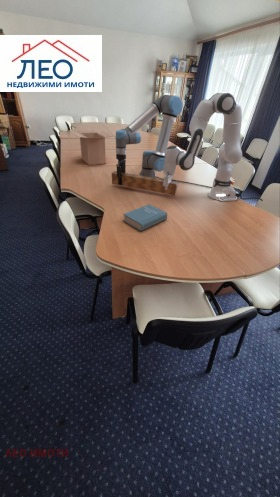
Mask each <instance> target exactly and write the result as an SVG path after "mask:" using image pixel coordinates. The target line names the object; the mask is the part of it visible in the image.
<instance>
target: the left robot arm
mask: <svg viewBox="0 0 280 497" xmlns="http://www.w3.org/2000/svg"><path fill="white" fill-rule="evenodd" d="M183 107H184V104H183V100H182V98H181V97H180V96H178V95H172V94H163V95H161V96H159V97H158V98H156V99H154V101H153V102H152V103H151V104H150V106H149V107H148V108H147V109H146V110H145V111H144V112H142V113H141V114H140V115H139V116H138V117H136V118H135V119H134V120H133V121H131V123H130V124H128V125H127V126H126V127H125V128H121V129H117V130H115V159H116V160H117V163H116V164H115V165H116V166H115V167H116V171H117V177H118V185H117V186H121V185H122V177H121V172H122V173H127V171H126V168H127V166H126V162H127V146H128V145H138V144H140V143H141V141H142V135H141V133H140V132H139V131H140V130H141V129H142V128H143V127H145V125H147V124H148V123H149V122H150V121H151V120H153V119H154V118H155V117H156V116H159V115H161V116H162V122H161V125H160V130H159V135H158V139H157V143H156V148H155V150H144V151H143V152H142V159H141V160H142V161H141V169H140V172H139V175H140V176H146V177H151V178H157V179H163V180H164V178H161V177H159V176H157V174H156V172H159V173H161V172H163V169H164V163H165V153H166V149H167V148H168V147H169V146H168V145H169V142H170V138H171V134H172V131H173V126H174V124H175V123H174V122H175V120H176V119H177V118H178V116H179V115H180V114H181V113H182V111H183ZM171 181H175V182H178V183H179V182H180V183H185V184H189V185H195V186H200V187H205V188H210V189H212V186H208V185H204V184H199V183H194V182H188V181H185V180H184V181H183V180H178V179H172V180H171Z"/></svg>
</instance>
